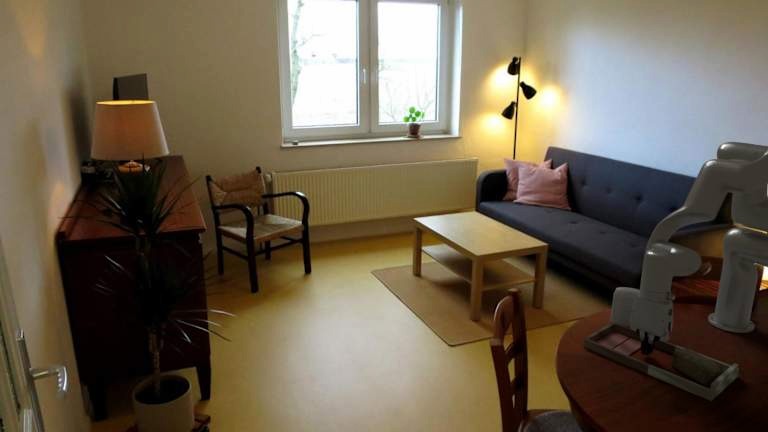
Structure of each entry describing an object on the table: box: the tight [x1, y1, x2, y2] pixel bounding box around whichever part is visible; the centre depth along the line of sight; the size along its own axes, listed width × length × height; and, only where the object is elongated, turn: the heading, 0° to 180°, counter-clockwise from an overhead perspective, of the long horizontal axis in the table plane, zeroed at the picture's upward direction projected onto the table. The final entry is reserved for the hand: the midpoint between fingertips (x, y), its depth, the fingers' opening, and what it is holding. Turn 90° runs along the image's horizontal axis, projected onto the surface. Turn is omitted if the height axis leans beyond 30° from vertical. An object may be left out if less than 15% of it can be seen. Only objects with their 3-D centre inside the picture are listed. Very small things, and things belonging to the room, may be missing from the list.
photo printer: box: [610, 286, 640, 328], centre depth 177 cm, size 10×4×12 cm, turn 59°
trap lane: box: [583, 322, 740, 402], centre depth 156 cm, size 17×36×4 cm, turn 39°
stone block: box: [670, 348, 723, 386], centre depth 150 cm, size 6×12×5 cm, turn 22°
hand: (646, 353), depth 159 cm, fingers closed
